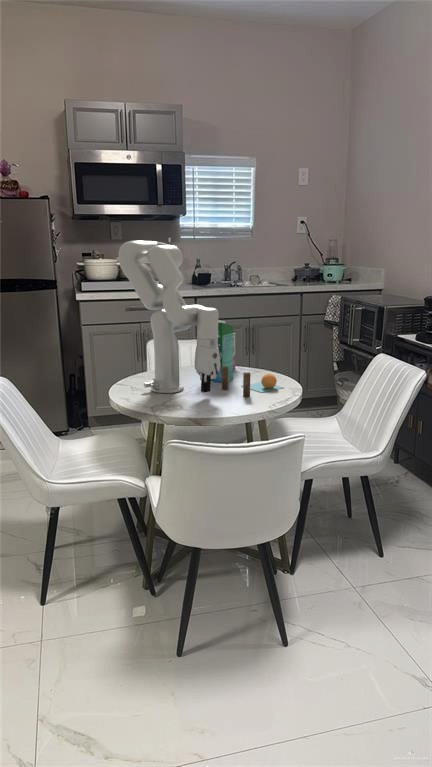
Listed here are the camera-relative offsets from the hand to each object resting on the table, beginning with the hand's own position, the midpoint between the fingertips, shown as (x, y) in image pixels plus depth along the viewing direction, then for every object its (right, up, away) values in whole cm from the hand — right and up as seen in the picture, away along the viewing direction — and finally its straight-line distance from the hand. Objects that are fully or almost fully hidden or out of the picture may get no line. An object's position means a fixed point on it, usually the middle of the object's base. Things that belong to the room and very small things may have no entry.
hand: (205, 391), depth 194 cm
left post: (+7, +1, +13) cm, 15 cm away
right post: (+15, -2, +3) cm, 16 cm away
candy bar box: (+9, +9, +45) cm, 47 cm away
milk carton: (+5, +4, +29) cm, 29 cm away
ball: (+25, +4, +13) cm, 28 cm away
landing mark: (+22, +1, +16) cm, 27 cm away
